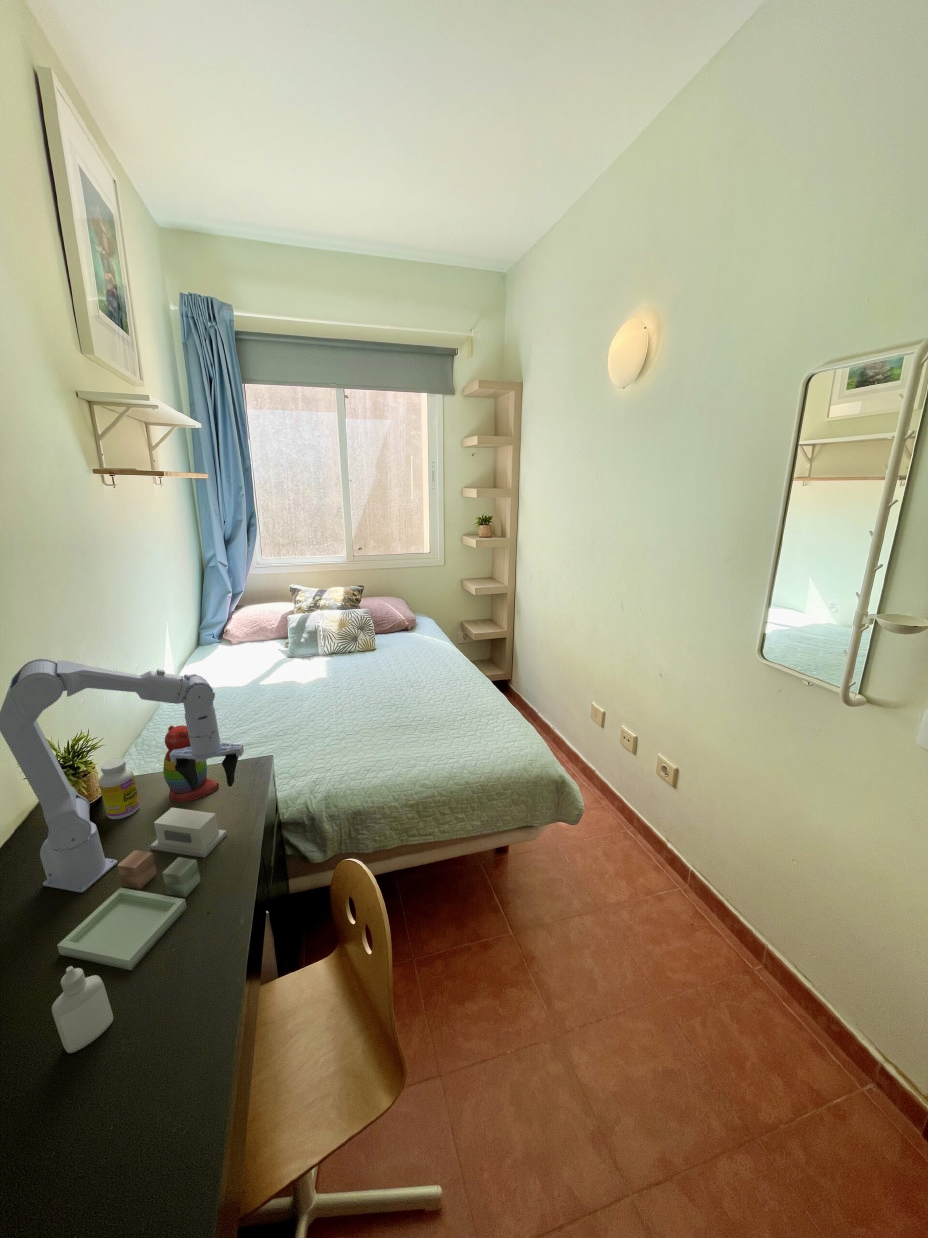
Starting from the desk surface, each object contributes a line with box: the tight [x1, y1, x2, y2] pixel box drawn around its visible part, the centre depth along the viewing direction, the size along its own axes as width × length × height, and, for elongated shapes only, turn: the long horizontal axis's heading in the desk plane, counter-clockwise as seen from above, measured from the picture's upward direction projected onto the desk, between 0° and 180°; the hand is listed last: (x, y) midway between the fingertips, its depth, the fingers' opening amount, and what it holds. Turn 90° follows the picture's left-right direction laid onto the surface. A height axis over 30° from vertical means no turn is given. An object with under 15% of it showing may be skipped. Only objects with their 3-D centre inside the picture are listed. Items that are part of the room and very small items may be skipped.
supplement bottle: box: [98, 757, 141, 820], centre depth 114 cm, size 7×7×13 cm
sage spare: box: [162, 856, 201, 899], centre depth 93 cm, size 4×4×5 cm
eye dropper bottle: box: [51, 965, 114, 1054], centre depth 68 cm, size 4×6×12 cm
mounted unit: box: [150, 807, 228, 858], centre depth 105 cm, size 13×7×6 cm, turn 78°
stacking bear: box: [162, 724, 220, 803], centre depth 121 cm, size 11×10×18 cm
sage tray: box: [57, 887, 187, 971], centre depth 85 cm, size 14×12×2 cm
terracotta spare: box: [116, 849, 158, 890], centre depth 95 cm, size 4×4×5 cm
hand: (213, 785), depth 110 cm, fingers open, 7 cm apart
